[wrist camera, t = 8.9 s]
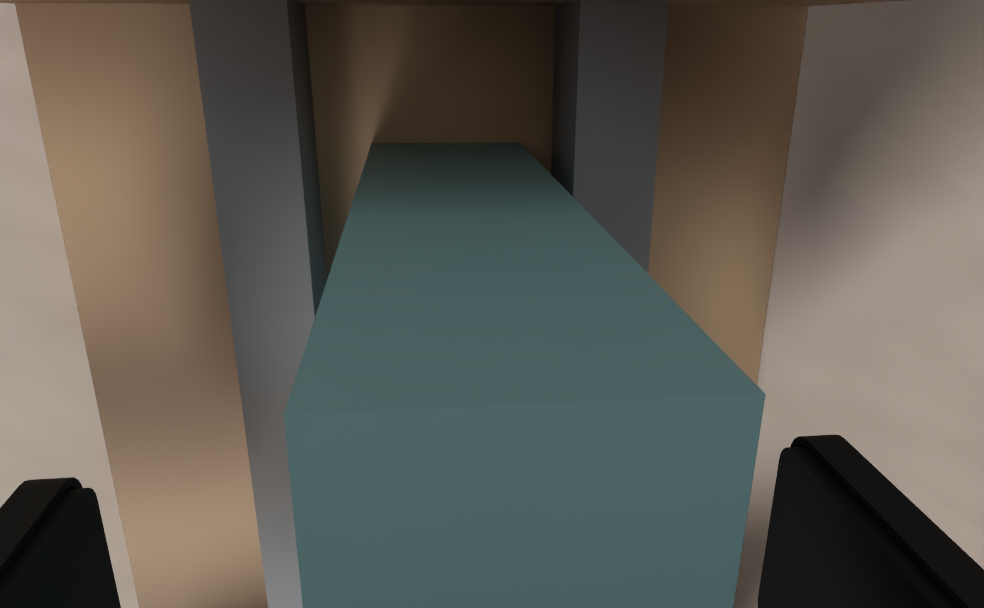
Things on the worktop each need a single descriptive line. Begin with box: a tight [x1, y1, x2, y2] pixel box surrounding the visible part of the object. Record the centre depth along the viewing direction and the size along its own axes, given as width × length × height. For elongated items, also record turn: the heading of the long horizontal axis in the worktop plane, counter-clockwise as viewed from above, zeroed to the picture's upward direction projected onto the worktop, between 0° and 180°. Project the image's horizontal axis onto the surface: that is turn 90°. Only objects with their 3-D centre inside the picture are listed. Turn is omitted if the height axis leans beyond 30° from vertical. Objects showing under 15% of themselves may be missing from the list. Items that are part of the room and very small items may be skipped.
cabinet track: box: [0, 0, 902, 608], centre depth 12 cm, size 17×12×6 cm
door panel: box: [284, 142, 765, 608], centre depth 10 cm, size 10×2×9 cm, turn 179°
